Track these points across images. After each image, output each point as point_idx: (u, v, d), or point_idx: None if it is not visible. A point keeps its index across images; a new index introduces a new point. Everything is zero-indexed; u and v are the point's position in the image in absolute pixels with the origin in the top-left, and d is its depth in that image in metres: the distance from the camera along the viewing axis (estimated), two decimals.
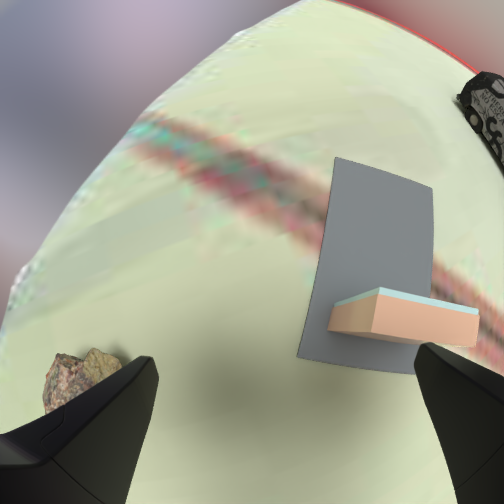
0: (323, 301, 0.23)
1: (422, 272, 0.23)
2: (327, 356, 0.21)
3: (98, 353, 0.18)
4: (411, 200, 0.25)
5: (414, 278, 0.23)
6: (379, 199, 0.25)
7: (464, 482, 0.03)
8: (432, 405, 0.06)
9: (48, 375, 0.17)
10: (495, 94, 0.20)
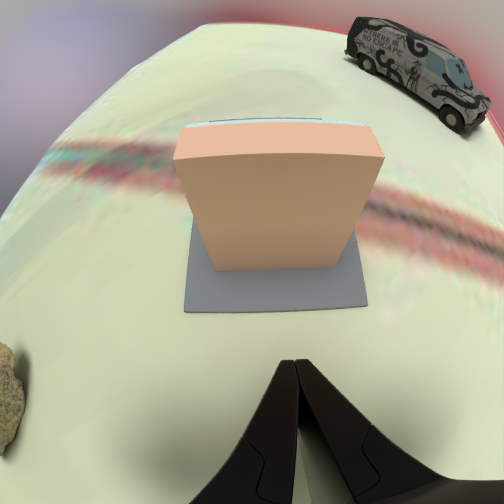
0: None
1: None
2: (222, 303, 0.17)
3: None
4: None
5: None
6: None
7: None
8: (299, 432, 0.06)
9: None
10: (374, 29, 0.26)
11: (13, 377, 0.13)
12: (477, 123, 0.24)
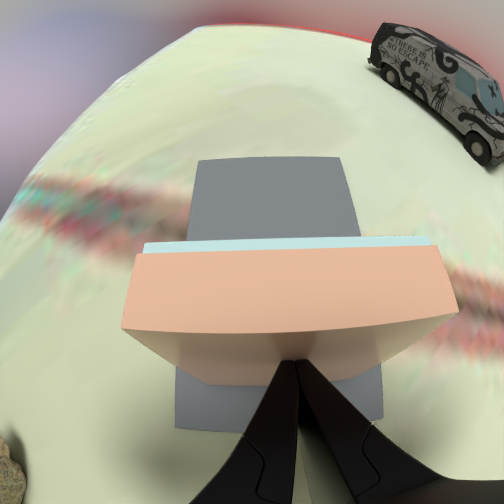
0: None
1: None
2: (219, 422, 0.13)
3: None
4: (310, 179, 0.20)
5: None
6: (260, 190, 0.20)
7: None
8: (299, 432, 0.06)
9: None
10: (400, 37, 0.23)
11: (11, 464, 0.08)
12: None
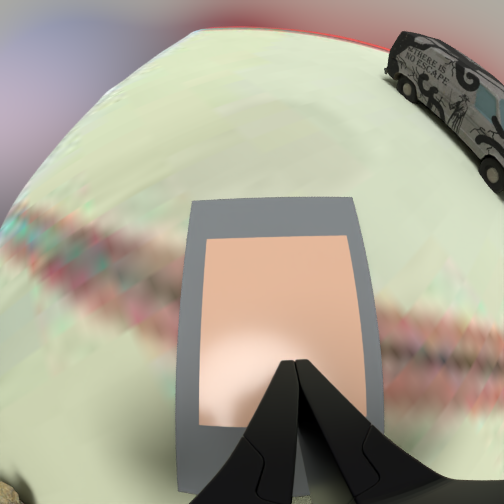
0: (193, 419, 0.13)
1: None
2: None
3: None
4: (319, 226, 0.18)
5: None
6: None
7: None
8: (299, 432, 0.06)
9: None
10: (419, 48, 0.21)
11: None
12: None
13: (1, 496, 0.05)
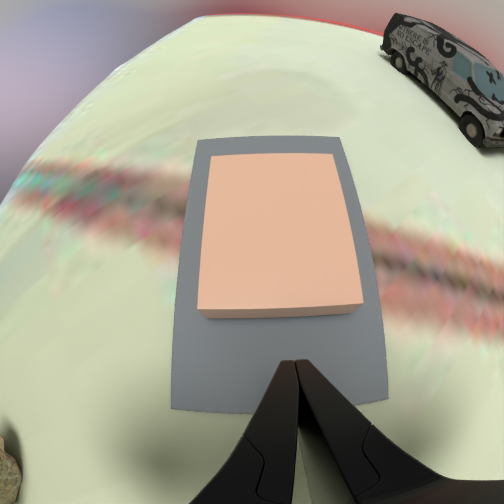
0: (192, 320, 0.15)
1: None
2: (216, 402, 0.13)
3: None
4: None
5: None
6: None
7: None
8: (299, 432, 0.06)
9: None
10: (408, 26, 0.22)
11: (5, 457, 0.08)
12: (502, 142, 0.19)
13: None
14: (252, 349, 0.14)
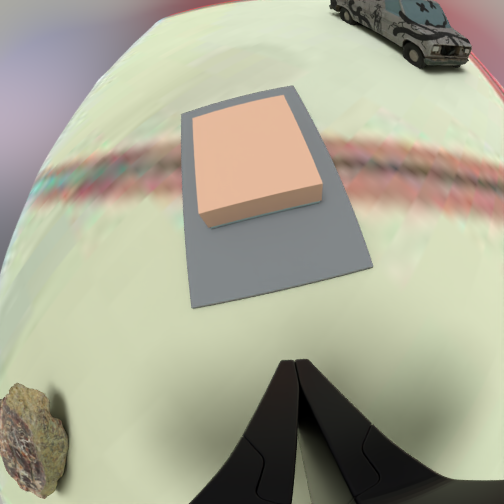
0: (198, 234, 0.19)
1: (312, 153, 0.20)
2: (227, 291, 0.17)
3: (22, 388, 0.13)
4: None
5: None
6: None
7: None
8: (299, 432, 0.06)
9: None
10: None
11: (51, 418, 0.14)
12: (446, 60, 0.20)
13: (31, 403, 0.13)
14: (248, 242, 0.18)
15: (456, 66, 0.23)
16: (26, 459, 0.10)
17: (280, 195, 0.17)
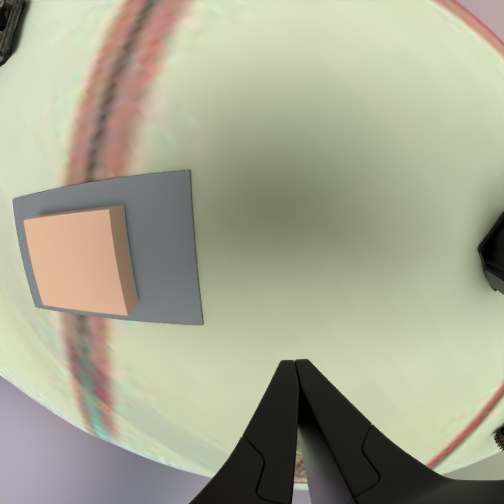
0: (142, 310, 0.21)
1: (78, 199, 0.18)
2: (192, 297, 0.20)
3: None
4: None
5: None
6: None
7: None
8: (299, 432, 0.06)
9: None
10: None
11: None
12: (10, 24, 0.10)
13: None
14: (152, 273, 0.20)
15: (24, 5, 0.11)
16: None
17: (116, 247, 0.17)
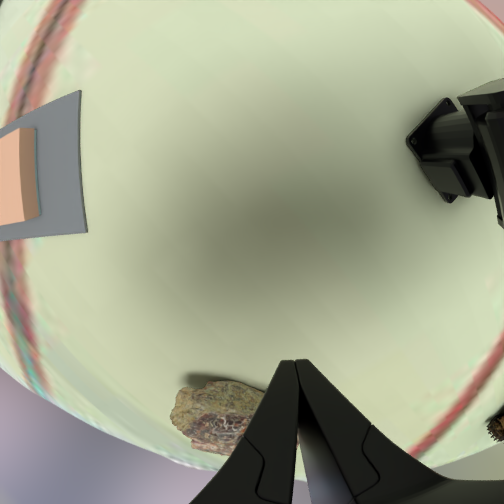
0: (43, 224, 0.19)
1: None
2: (76, 202, 0.18)
3: (174, 411, 0.20)
4: None
5: None
6: None
7: None
8: (299, 432, 0.06)
9: (220, 453, 0.19)
10: None
11: (203, 389, 0.21)
12: None
13: (186, 405, 0.20)
14: (50, 184, 0.18)
15: None
16: None
17: (21, 158, 0.15)
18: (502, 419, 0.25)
